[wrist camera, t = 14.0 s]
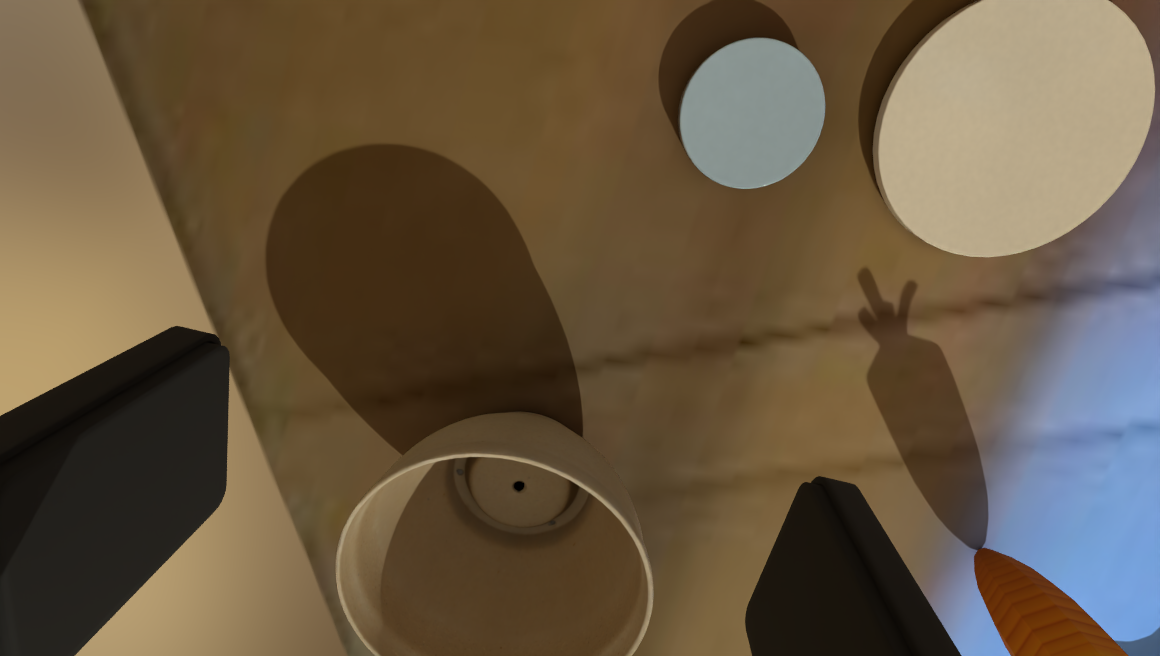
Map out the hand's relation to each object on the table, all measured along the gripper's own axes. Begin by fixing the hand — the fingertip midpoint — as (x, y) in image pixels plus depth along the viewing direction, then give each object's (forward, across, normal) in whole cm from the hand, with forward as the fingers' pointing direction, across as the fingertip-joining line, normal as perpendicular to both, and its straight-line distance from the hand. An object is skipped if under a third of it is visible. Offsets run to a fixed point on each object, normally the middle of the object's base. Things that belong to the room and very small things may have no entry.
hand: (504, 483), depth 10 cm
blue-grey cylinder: (+26, -7, -7) cm, 28 cm away
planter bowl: (+26, 0, +18) cm, 32 cm away
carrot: (+26, -31, +16) cm, 44 cm away
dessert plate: (+26, -20, -9) cm, 34 cm away
